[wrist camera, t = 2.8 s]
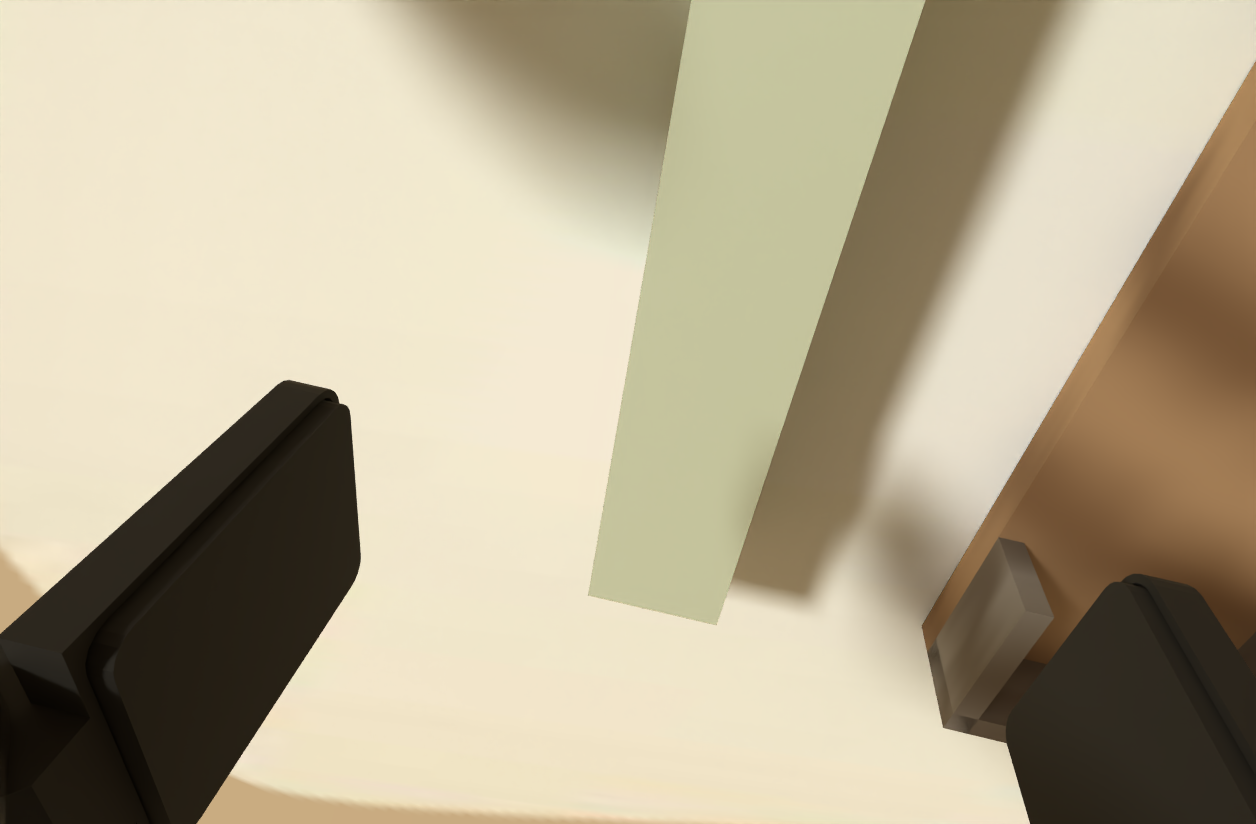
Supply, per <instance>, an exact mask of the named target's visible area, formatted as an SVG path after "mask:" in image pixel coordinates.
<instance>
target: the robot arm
mask: <svg viewBox="0 0 1256 824" xmlns="http://www.w3.org/2000/svg"><path fill="white" fill-rule="evenodd" d="M360 561H361V553H360V539H359V525H358V512H357V498H356V484H355V471H354V457H353V444H352V430H351V416H350V411H349V409H348V407H347V406H346V405H344V404H339V400H338V396H337V395H336V393H335V392H334V391H332V390H331V389H326V388H322V387H317V386H313V385H309V384H304V383H300V382H295V381H291V380H287V381H283V382H281V383H280V384H278V385H277V386H276V387H275V388H273V389H272V390H271V391H270V392H269V393H268V394H267V395H266V396H265V397H263V398H262V399H261V400H260V401H259V402H258V403H257V404H256V405H254V406H253V407H252V408H251V409H250V410H249V411H248V412H247V413H246V414H244V415H243V416H242V417H241V418H240V419H239V420H238V421H237V422H236V423H234V424H233V425H232V426H231V427H230V428H229V429H228V430H227V431H226V432H224V433H223V434H222V435H221V436H220V437H219V438H218V439H217V440H216V441H214V442H213V443H212V444H211V445H210V446H209V447H208V448H207V449H206V450H204V451H203V452H202V453H201V454H200V455H199V456H198V457H197V458H196V459H194V460H193V461H192V462H191V463H190V464H189V465H188V466H187V467H186V468H184V469H183V470H182V471H181V472H180V473H179V474H178V475H177V476H176V477H174V478H173V479H172V480H171V481H170V482H169V483H168V484H167V485H166V486H164V487H163V488H162V489H161V490H160V491H159V492H158V493H157V494H156V495H154V496H153V497H152V498H151V499H150V500H149V501H148V502H147V503H145V504H144V505H143V506H142V507H141V508H140V509H139V510H138V511H137V512H135V513H134V514H133V515H132V516H131V517H130V518H129V519H128V520H127V521H125V522H124V523H123V524H122V525H121V526H120V527H119V528H118V529H117V530H115V531H114V532H113V533H112V534H111V535H110V536H109V537H108V538H107V539H105V540H104V541H103V542H102V543H101V544H100V545H99V546H98V547H97V548H95V549H94V550H93V551H92V552H91V553H90V554H89V555H88V556H87V557H85V558H84V559H83V560H82V561H81V562H80V563H79V564H78V565H77V566H75V567H74V568H73V569H72V570H71V571H70V572H69V573H68V574H67V575H65V576H64V577H63V578H62V579H61V580H60V581H59V582H58V583H57V584H55V585H54V586H53V587H52V588H51V589H50V590H49V591H48V592H46V593H45V594H44V595H43V596H42V597H41V598H40V599H39V600H38V601H36V602H35V603H34V604H33V605H32V606H31V607H30V608H29V609H28V610H27V611H25V612H24V613H23V614H22V615H21V616H20V617H19V618H18V619H17V620H16V621H14V622H13V623H12V624H11V625H10V626H9V627H8V628H6V629H5V630H4V631H3V632H2V633H1V634H0V824H196V823H197V822H198V821H199V819H200V818H201V817H202V815H203V813H204V812H205V810H206V809H207V807H208V806H209V804H210V803H211V801H212V799H213V798H214V797H215V795H216V794H217V792H218V790H219V789H220V787H221V786H222V784H223V783H224V781H225V780H226V778H227V777H228V775H229V774H230V772H231V770H232V769H233V767H234V766H235V764H236V763H237V761H238V760H239V758H240V757H241V755H242V754H243V752H244V751H245V749H246V747H247V746H248V744H249V743H250V741H251V740H252V738H253V737H254V735H255V734H256V732H257V731H258V729H259V728H260V726H261V724H262V723H263V721H264V720H265V718H266V717H267V715H268V714H269V712H270V711H271V709H272V708H273V706H274V704H275V703H276V701H277V700H278V698H279V697H280V695H281V694H282V692H283V691H284V689H285V688H286V686H287V685H288V683H289V681H290V680H291V678H292V677H293V675H294V674H295V672H296V671H297V669H298V668H299V666H300V665H301V663H302V662H303V660H304V658H305V657H306V655H307V654H308V652H309V651H310V649H311V648H312V646H313V645H314V643H315V642H316V640H317V638H318V637H319V635H320V634H321V632H322V631H323V629H324V628H325V626H326V625H327V623H328V622H329V620H330V619H331V617H332V615H333V614H334V612H335V611H336V609H337V608H338V606H339V605H340V603H341V602H342V600H343V599H344V597H345V595H346V594H347V592H348V591H349V589H350V588H351V586H352V584H353V583H354V581H355V579H356V576H357V574H358V570H359V567H360ZM1006 741H1007V746H1008V749H1009V753H1010V756H1011V759H1012V763H1013V766H1014V770H1015V773H1016V777H1017V780H1018V783H1019V787H1020V790H1021V794H1022V797H1023V801H1024V804H1025V807H1026V811H1027V814H1028V818H1029V821H1030V824H1256V678H1255V676H1254V674H1253V673H1252V671H1251V670H1250V668H1249V667H1248V665H1247V664H1246V662H1245V661H1244V659H1243V658H1242V656H1241V655H1240V653H1239V652H1238V650H1237V648H1236V647H1235V645H1234V644H1233V642H1232V641H1231V639H1230V638H1229V636H1228V635H1227V633H1226V632H1225V630H1224V629H1223V627H1222V626H1221V624H1220V622H1219V621H1218V619H1217V618H1216V616H1215V615H1214V613H1213V612H1212V610H1211V609H1210V607H1209V606H1208V604H1207V603H1206V601H1205V600H1204V598H1203V596H1202V595H1201V594H1200V593H1199V592H1198V591H1197V590H1196V589H1195V588H1193V587H1191V586H1189V585H1188V584H1183V583H1179V582H1174V581H1170V580H1166V579H1161V578H1157V577H1152V576H1148V575H1144V574H1131V575H1129V576H1127V577H1125V578H1124V579H1123V580H1122V581H1121V582H1113V583H1110V584H1109V585H1108V586H1107V587H1106V588H1105V589H1104V590H1103V591H1102V593H1101V594H1100V595H1099V597H1098V598H1097V599H1096V601H1095V602H1094V603H1093V605H1092V606H1091V607H1090V608H1089V610H1088V611H1087V612H1086V614H1085V615H1084V616H1083V618H1082V619H1081V620H1080V622H1079V623H1078V624H1077V626H1076V627H1075V628H1074V629H1073V631H1072V632H1071V633H1070V635H1069V636H1068V637H1067V639H1066V640H1065V641H1064V643H1063V644H1062V645H1061V647H1060V648H1059V649H1058V650H1057V652H1056V653H1055V654H1054V656H1053V657H1052V658H1051V660H1050V661H1049V662H1048V664H1047V665H1046V666H1045V668H1044V669H1043V670H1042V671H1041V673H1040V674H1039V675H1038V677H1037V678H1036V679H1035V681H1034V682H1033V683H1032V685H1031V686H1030V687H1029V688H1028V690H1027V691H1026V692H1025V694H1024V695H1023V696H1022V698H1021V699H1020V700H1019V702H1018V703H1017V704H1016V706H1015V707H1014V708H1013V709H1012V711H1011V713H1010V714H1009V716H1008V719H1007V723H1006Z"/></svg>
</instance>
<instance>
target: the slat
mask: <svg viewBox="0 0 1256 824" xmlns="http://www.w3.org/2000/svg"><path fill="white" fill-rule="evenodd" d="M924 3H925V0H691V4H690V10H689V16H688V21H687V27H686V33H685V39H684V44H683V50H682V56H681V62H680V68H679V73H678V79H677V85H676V91H675V96H674V102H673V108H672V114H671V120H670V125H669V131H668V137H667V143H666V148H665V154H664V160H663V166H662V172H661V177H660V183H659V189H658V195H657V200H656V206H655V212H654V218H653V223H652V229H651V235H650V241H649V247H648V252H647V258H646V264H645V270H644V275H643V281H642V287H641V293H640V299H639V304H638V310H637V316H636V322H635V327H634V333H633V339H632V345H631V350H630V356H629V362H628V368H627V374H626V379H625V385H624V391H623V397H622V402H621V408H620V414H619V420H618V426H617V431H616V437H615V443H614V449H613V454H612V460H611V466H610V472H609V478H608V483H607V489H606V495H605V501H604V506H603V512H602V518H601V524H600V529H599V535H598V541H597V547H596V553H595V558H594V564H593V570H592V576H591V581H590V587H589V593H588V595H589V596H593V597H597V598H601V599H606V600H610V601H614V602H619V603H623V604H627V605H632V606H636V607H640V608H645V609H649V610H653V611H657V612H662V613H666V614H670V615H675V616H679V617H683V618H688V619H692V620H696V621H700V622H705V623H709V624H713V625H717V622H718V619H719V616H720V613H721V610H722V607H723V604H724V601H725V598H726V595H727V592H728V589H729V586H730V583H731V580H732V577H733V574H734V571H735V568H736V565H737V562H738V559H739V556H740V553H741V550H742V547H743V544H744V541H745V538H746V536H747V533H748V530H749V527H750V524H751V521H752V518H753V515H754V512H755V509H756V506H757V503H758V500H759V497H760V494H761V491H762V488H763V485H764V482H765V479H766V476H767V473H768V470H769V467H770V464H771V461H772V458H773V455H774V452H775V449H776V446H777V443H778V440H779V437H780V434H781V431H782V428H783V425H784V422H785V419H786V416H787V413H788V410H789V407H790V404H791V401H792V398H793V395H794V392H795V389H796V386H797V383H798V380H799V377H800V374H801V371H802V368H803V365H804V362H805V359H806V356H807V353H808V350H809V347H810V344H811V341H812V338H813V335H814V332H815V329H816V326H817V323H818V320H819V317H820V314H821V311H822V308H823V305H824V302H825V299H826V296H827V293H828V290H829V287H830V284H831V281H832V278H833V275H834V272H835V269H836V266H837V263H838V260H839V257H840V254H841V251H842V248H843V245H844V243H845V240H846V237H847V234H848V231H849V228H850V225H851V222H852V219H853V216H854V213H855V210H856V207H857V204H858V201H859V198H860V195H861V192H862V189H863V186H864V183H865V180H866V177H867V174H868V171H869V168H870V165H871V162H872V159H873V156H874V153H875V150H876V147H877V144H878V141H879V138H880V135H881V132H882V129H883V126H884V123H885V120H886V117H887V114H888V111H889V108H890V105H891V102H892V99H893V96H894V93H895V90H896V87H897V84H898V81H899V78H900V75H901V72H902V69H903V66H904V63H905V60H906V57H907V54H908V51H909V48H910V45H911V42H912V39H913V36H914V33H915V30H916V27H917V24H918V21H919V18H920V15H921V12H922V9H923V6H924Z"/></svg>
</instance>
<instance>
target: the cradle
mask: <svg viewBox="0 0 1256 824" xmlns="http://www.w3.org/2000/svg"><path fill="white" fill-rule="evenodd" d="M1131 574H1144V575H1148V576H1152V577H1157V578H1161V579H1166V580H1170V581H1174V582H1179V583H1183V584H1188V585H1189V586H1191V587H1193V588H1195V589H1196V590H1197V591H1198V592H1199V593H1200V594H1201V595H1202V596H1203V598H1204V600H1205V601H1206V603H1207V604H1208V606H1209V607H1210V609H1211V610H1212V612H1213V613H1214V615H1215V616H1216V618H1217V619H1218V621H1219V622H1220V624H1221V626H1222V627H1223V629H1224V630H1225V632H1226V633H1227V635H1228V636H1229V638H1230V639H1231V641H1232V642H1233V644H1234V645H1235V647H1236V648H1237V650H1238V652H1239V653H1240V655H1241V656H1242V658H1243V659H1244V661H1245V662H1246V664H1247V665H1248V667H1249V668H1250V670H1251V671H1252V673H1253V674H1254V676H1255V678H1256V62H1255V63H1254V65H1253V67H1252V69H1251V70H1250V72H1249V74H1248V75H1247V77H1246V79H1245V80H1244V82H1243V84H1242V85H1241V87H1240V89H1239V91H1238V92H1237V94H1236V96H1235V97H1234V99H1233V101H1232V102H1231V104H1230V106H1229V107H1228V109H1227V111H1226V112H1225V114H1224V116H1223V118H1222V119H1221V121H1220V123H1219V124H1218V126H1217V128H1216V129H1215V131H1214V133H1213V134H1212V136H1211V138H1210V140H1209V141H1208V143H1207V145H1206V146H1205V148H1204V150H1203V151H1202V153H1201V155H1200V156H1199V158H1198V160H1197V162H1196V163H1195V165H1194V167H1193V168H1192V170H1191V172H1190V173H1189V175H1188V177H1187V178H1186V180H1185V182H1184V184H1183V185H1182V187H1181V189H1180V190H1179V192H1178V194H1177V195H1176V197H1175V199H1174V200H1173V202H1172V204H1171V206H1170V207H1169V209H1168V211H1167V212H1166V214H1165V216H1164V217H1163V219H1162V221H1161V222H1160V224H1159V226H1158V227H1157V229H1156V231H1155V233H1154V234H1153V236H1152V238H1151V239H1150V241H1149V243H1148V244H1147V246H1146V248H1145V249H1144V251H1143V253H1142V255H1141V256H1140V258H1139V260H1138V261H1137V263H1136V265H1135V266H1134V268H1133V270H1132V271H1131V273H1130V275H1129V277H1128V278H1127V280H1126V282H1125V283H1124V285H1123V287H1122V288H1121V290H1120V292H1119V293H1118V295H1117V297H1116V299H1115V300H1114V302H1113V304H1112V305H1111V307H1110V309H1109V310H1108V312H1107V314H1106V315H1105V317H1104V319H1103V321H1102V322H1101V324H1100V326H1099V327H1098V329H1097V331H1096V332H1095V334H1094V336H1093V337H1092V339H1091V341H1090V342H1089V344H1088V346H1087V348H1086V349H1085V351H1084V353H1083V354H1082V356H1081V358H1080V359H1079V361H1078V363H1077V364H1076V366H1075V368H1074V370H1073V371H1072V373H1071V375H1070V376H1069V378H1068V380H1067V381H1066V383H1065V385H1064V386H1063V388H1062V390H1061V392H1060V393H1059V395H1058V397H1057V398H1056V400H1055V402H1054V403H1053V405H1052V407H1051V408H1050V410H1049V412H1048V414H1047V415H1046V417H1045V419H1044V420H1043V422H1042V424H1041V425H1040V427H1039V429H1038V430H1037V432H1036V434H1035V435H1034V437H1033V439H1032V441H1031V442H1030V444H1029V446H1028V447H1027V449H1026V451H1025V452H1024V454H1023V456H1022V457H1021V459H1020V461H1019V463H1018V464H1017V466H1016V468H1015V469H1014V471H1013V473H1012V474H1011V476H1010V478H1009V479H1008V481H1007V483H1006V485H1005V486H1004V488H1003V490H1002V491H1001V493H1000V495H999V496H998V498H997V500H996V501H995V503H994V505H993V507H992V508H991V510H990V512H989V513H988V515H987V517H986V518H985V520H984V522H983V523H982V525H981V527H980V529H979V530H978V532H977V534H976V535H975V537H974V539H973V540H972V542H971V544H970V545H969V547H968V549H967V550H966V552H965V554H964V556H963V557H962V559H961V561H960V562H959V564H958V566H957V567H956V569H955V571H954V572H953V574H952V576H951V578H950V579H949V581H948V583H947V584H946V586H945V588H944V589H943V591H942V593H941V594H940V596H939V598H938V600H937V601H936V603H935V605H934V606H933V608H932V610H931V611H930V613H929V615H928V616H927V618H926V620H925V622H924V623H923V625H922V629H923V634H924V639H925V643H926V648H927V653H928V658H929V662H930V667H931V672H932V677H933V681H934V686H935V691H936V696H937V700H938V705H939V710H940V715H941V719H942V724H943V728H946V729H950V730H954V731H959V732H963V733H967V734H971V735H975V736H979V737H983V738H988V739H992V740H996V741H1000V742H1004V743H1007V741H1006V723H1007V719H1008V716H1009V714H1010V713H1011V711H1012V709H1013V708H1014V707H1015V706H1016V704H1017V703H1018V702H1019V700H1020V699H1021V698H1022V696H1023V695H1024V694H1025V692H1026V691H1027V690H1028V688H1029V687H1030V686H1031V685H1032V683H1033V682H1034V681H1035V679H1036V678H1037V677H1038V675H1039V674H1040V673H1041V671H1042V670H1043V669H1044V668H1045V666H1046V665H1047V664H1048V662H1049V661H1050V660H1051V658H1052V657H1053V656H1054V654H1055V653H1056V652H1057V650H1058V649H1059V648H1060V647H1061V645H1062V644H1063V643H1064V641H1065V640H1066V639H1067V637H1068V636H1069V635H1070V633H1071V632H1072V631H1073V629H1074V628H1075V627H1076V626H1077V624H1078V623H1079V622H1080V620H1081V619H1082V618H1083V616H1084V615H1085V614H1086V612H1087V611H1088V610H1089V608H1090V607H1091V606H1092V605H1093V603H1094V602H1095V601H1096V599H1097V598H1098V597H1099V595H1100V594H1101V593H1102V591H1103V590H1104V589H1105V588H1106V587H1107V586H1108V585H1109V584H1110V583H1113V582H1121V581H1122V580H1123V579H1124V578H1125V577H1127V576H1129V575H1131Z"/></svg>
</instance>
